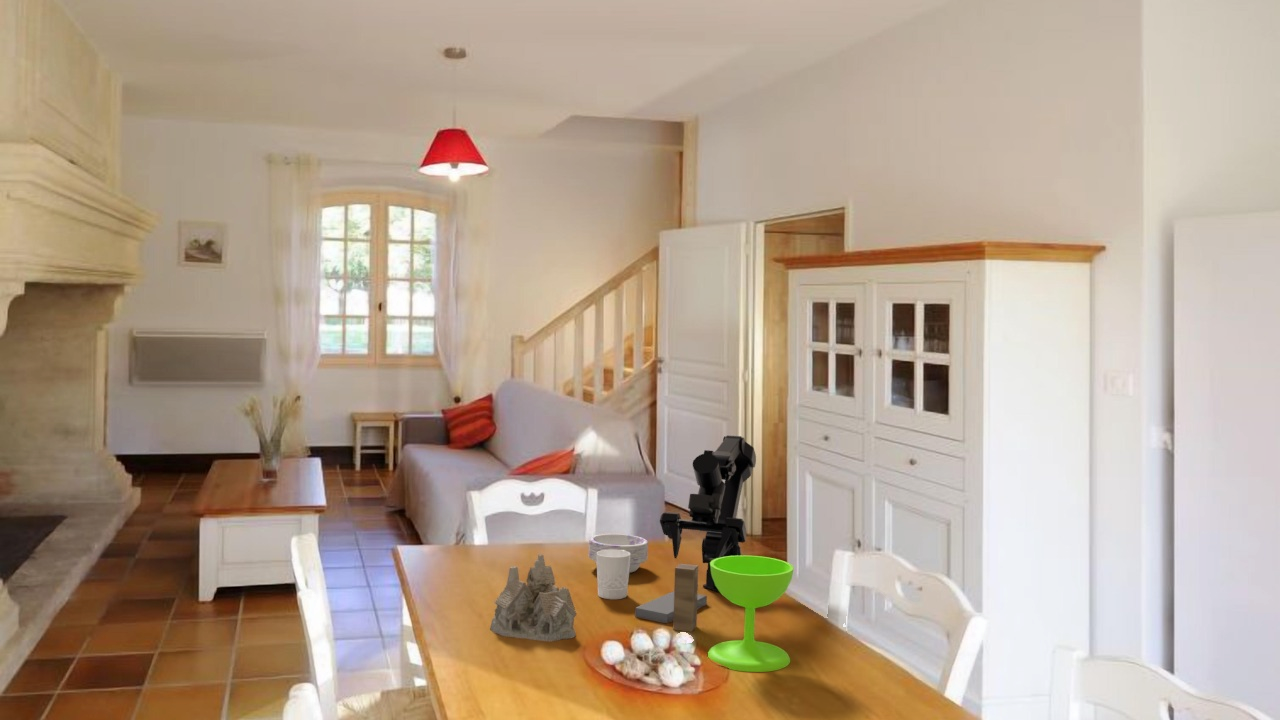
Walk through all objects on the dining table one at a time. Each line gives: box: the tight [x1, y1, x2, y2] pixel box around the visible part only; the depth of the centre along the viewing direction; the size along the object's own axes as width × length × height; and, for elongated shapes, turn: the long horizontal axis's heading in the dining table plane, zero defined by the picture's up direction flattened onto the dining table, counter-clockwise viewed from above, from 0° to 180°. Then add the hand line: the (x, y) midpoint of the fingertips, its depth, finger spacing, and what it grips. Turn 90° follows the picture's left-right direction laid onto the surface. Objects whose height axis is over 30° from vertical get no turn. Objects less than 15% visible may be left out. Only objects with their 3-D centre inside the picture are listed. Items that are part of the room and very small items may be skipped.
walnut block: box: [672, 563, 699, 633], centre depth 215 cm, size 4×4×13 cm
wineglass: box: [707, 554, 794, 673], centre depth 197 cm, size 16×16×18 cm
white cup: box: [596, 549, 631, 600], centre depth 238 cm, size 8×8×10 cm
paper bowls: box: [588, 533, 649, 574], centre depth 263 cm, size 15×15×8 cm
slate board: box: [634, 590, 708, 624], centre depth 227 cm, size 18×8×2 cm, turn 148°
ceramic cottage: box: [490, 554, 577, 642], centre depth 210 cm, size 16×16×15 cm
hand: (695, 559), depth 221 cm, fingers open, 9 cm apart
